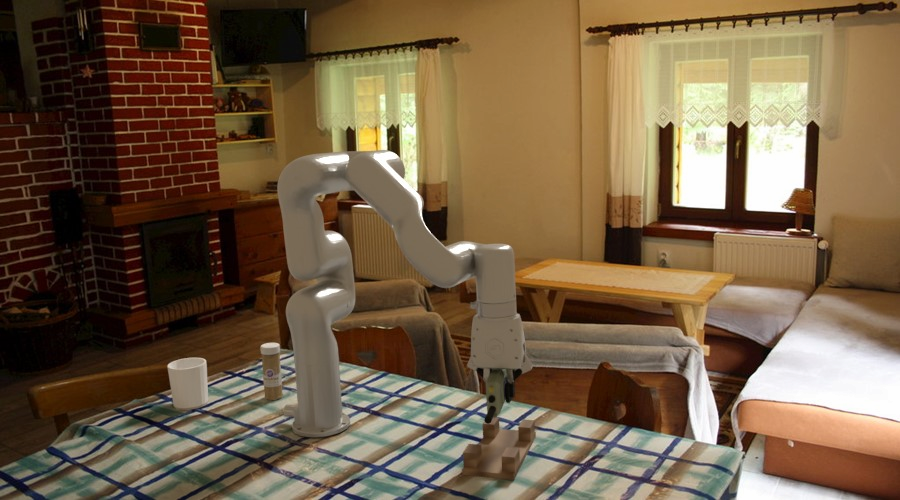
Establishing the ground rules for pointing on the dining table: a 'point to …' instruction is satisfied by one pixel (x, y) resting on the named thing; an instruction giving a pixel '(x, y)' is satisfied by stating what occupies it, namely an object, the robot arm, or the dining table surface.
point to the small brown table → (499, 451)
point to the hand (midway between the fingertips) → (501, 399)
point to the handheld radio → (495, 393)
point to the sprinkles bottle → (271, 371)
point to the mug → (188, 383)
